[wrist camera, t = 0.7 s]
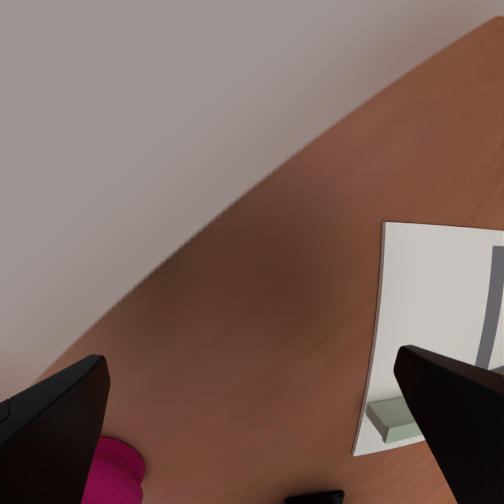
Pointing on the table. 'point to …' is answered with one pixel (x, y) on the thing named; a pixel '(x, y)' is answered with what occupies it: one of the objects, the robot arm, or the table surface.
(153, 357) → the table surface
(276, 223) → the table surface
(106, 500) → the pepper mill
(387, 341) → the card
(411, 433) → the hinged panel
